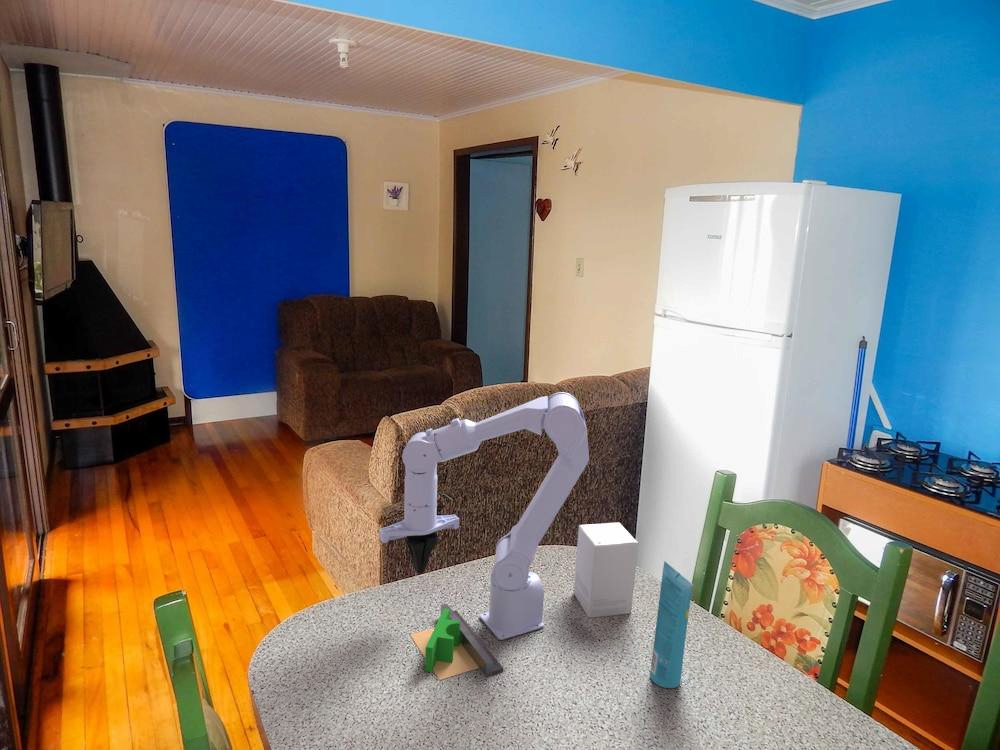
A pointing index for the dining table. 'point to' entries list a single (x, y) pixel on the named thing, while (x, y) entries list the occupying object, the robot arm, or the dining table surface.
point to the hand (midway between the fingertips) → (419, 570)
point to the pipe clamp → (442, 641)
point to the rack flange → (461, 651)
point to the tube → (670, 628)
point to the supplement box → (605, 569)
